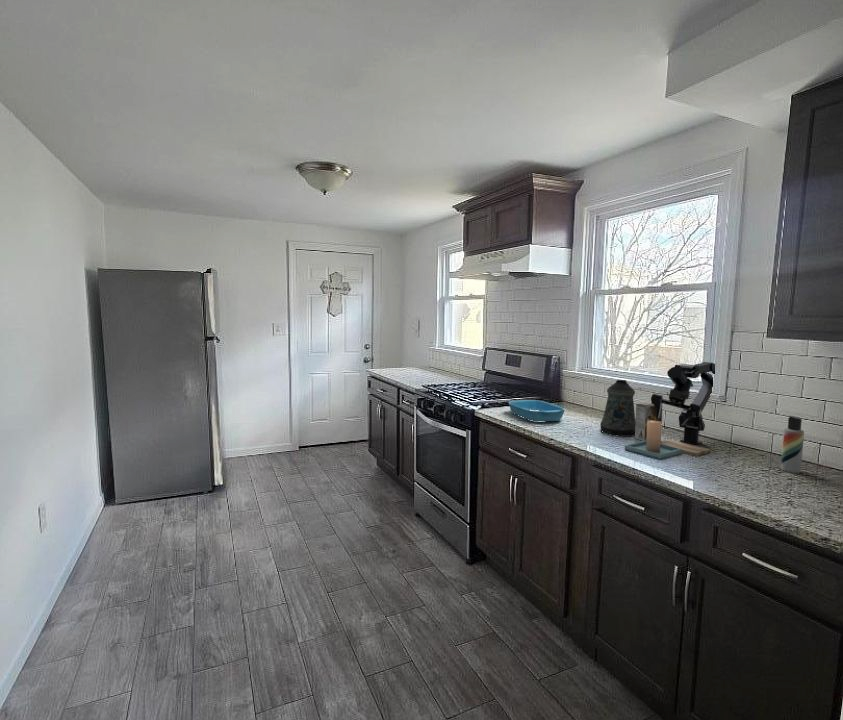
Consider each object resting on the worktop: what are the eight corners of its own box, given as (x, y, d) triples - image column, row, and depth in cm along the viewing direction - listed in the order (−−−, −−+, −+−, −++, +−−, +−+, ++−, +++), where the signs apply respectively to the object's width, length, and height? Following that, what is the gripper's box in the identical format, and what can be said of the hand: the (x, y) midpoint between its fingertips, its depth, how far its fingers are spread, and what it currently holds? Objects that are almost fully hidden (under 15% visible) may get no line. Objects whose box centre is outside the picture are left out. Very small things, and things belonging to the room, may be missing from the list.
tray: (646, 444, 203) (646, 440, 203) (681, 453, 191) (681, 448, 190) (624, 450, 195) (625, 445, 195) (659, 459, 183) (660, 454, 182)
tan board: (670, 442, 208) (670, 439, 207) (710, 452, 193) (710, 449, 193) (655, 446, 202) (655, 443, 202) (696, 456, 187) (696, 453, 187)
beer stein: (602, 435, 219) (604, 382, 217) (597, 425, 238) (599, 377, 236) (640, 437, 216) (643, 383, 213) (632, 428, 234) (634, 378, 232)
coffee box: (650, 436, 217) (652, 402, 216) (661, 440, 211) (663, 405, 210) (634, 438, 215) (635, 403, 213) (644, 441, 209) (646, 406, 207)
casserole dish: (502, 411, 273) (502, 399, 273) (536, 410, 279) (537, 398, 278) (533, 426, 238) (533, 412, 237) (572, 423, 244) (572, 410, 243)
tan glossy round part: (657, 448, 195) (658, 420, 194) (661, 452, 190) (663, 423, 189) (644, 448, 196) (645, 420, 195) (648, 451, 191) (649, 422, 190)
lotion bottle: (781, 467, 174) (785, 414, 172) (800, 470, 171) (805, 416, 169) (780, 471, 170) (784, 416, 168) (800, 474, 166) (805, 419, 164)
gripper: (656, 375, 199) (643, 407, 195) (706, 388, 187) (693, 422, 183) (658, 387, 207) (645, 418, 203) (705, 399, 196) (693, 432, 192)
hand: (668, 422), depth 195 cm, fingers open, 9 cm apart
